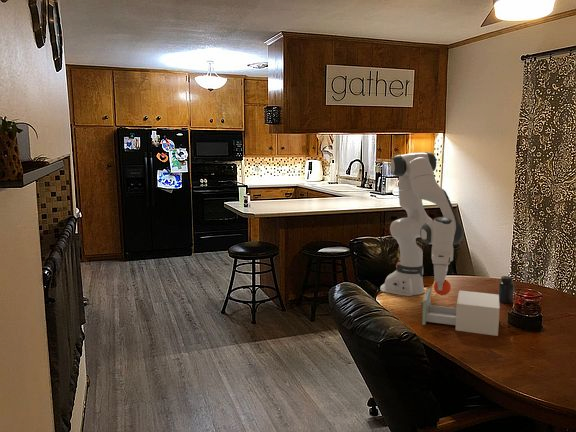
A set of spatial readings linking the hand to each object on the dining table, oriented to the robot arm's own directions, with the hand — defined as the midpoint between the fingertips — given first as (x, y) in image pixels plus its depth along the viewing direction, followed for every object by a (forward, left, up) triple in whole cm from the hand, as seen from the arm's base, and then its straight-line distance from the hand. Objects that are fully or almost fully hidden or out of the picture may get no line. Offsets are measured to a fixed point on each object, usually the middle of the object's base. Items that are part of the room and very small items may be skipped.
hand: (441, 286), depth 202 cm
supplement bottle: (+27, +36, -15) cm, 48 cm away
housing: (+15, 0, -15) cm, 21 cm away
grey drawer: (0, 0, -15) cm, 15 cm away
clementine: (0, 0, -4) cm, 4 cm away
